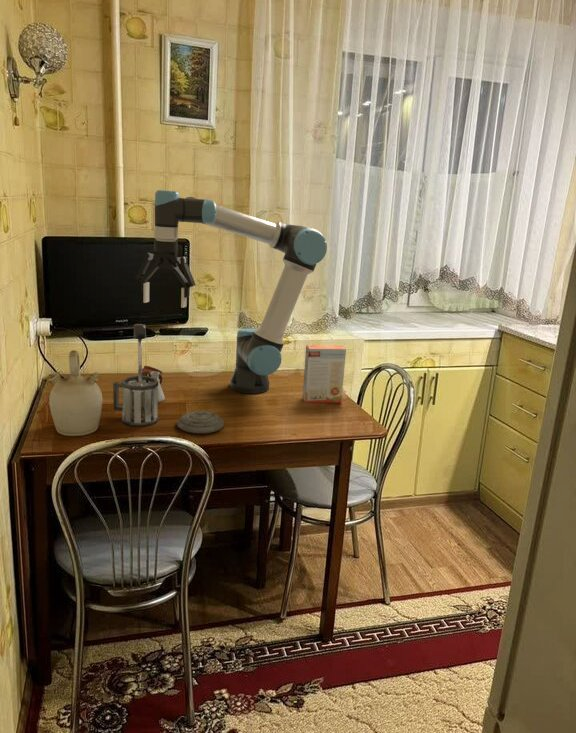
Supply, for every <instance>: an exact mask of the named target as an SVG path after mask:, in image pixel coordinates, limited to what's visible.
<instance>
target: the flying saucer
mask: <svg viewBox="0 0 576 733" xmlns="http://www.w3.org/2000/svg"><path fill="white" fill-rule="evenodd" d="M224 425H225V423H224V421H223V419H222V417H220V416H219V415H217V414H216V413H214V412H211V411H208V410H207V411H206V410H194V411H190V412H187V413H185V414H183V415H182V416H181V417H180V418H179V419H177V421H176V426H177V427H178V428H179V429H180V430H182V431H185V432H187V433H190V434H210V433H214V432H218V431H219V430H221V429H223V427H224Z"/></svg>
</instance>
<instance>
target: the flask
mask: <svg viewBox="0 0 576 733" xmlns="http://www.w3.org/2000/svg"><path fill="white" fill-rule="evenodd" d="M150 375H151V377H153V378H156V379H157V381H158V403H161V402H163V401H165V400H166V396H165V394H164V392H163V389H162V385H161V383H160V379H159V372H151V373H150Z"/></svg>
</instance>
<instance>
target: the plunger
mask: <svg viewBox="0 0 576 733" xmlns="http://www.w3.org/2000/svg"><path fill="white" fill-rule="evenodd" d="M146 329H147V325H146V324H143V323H135V324H133V338H134V339H136V340H137V376H138V382H137V383H131V384H129V383H128V384H129V385H132V386H146V385H151V384H150V383H144V382H142V369H143V340H144V339H147V335H146V334H147V330H146ZM151 391H152V389H151ZM132 393H134V390H132ZM141 393H144V391H141Z"/></svg>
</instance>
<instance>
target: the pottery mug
mask: <svg viewBox="0 0 576 733" xmlns="http://www.w3.org/2000/svg"><path fill="white" fill-rule="evenodd" d="M151 372H159V383H160V384H161V383H163V375H162V374H163V370H160V369H158V368H155V367H153V366H150V365H144V366H143V367H142V376H149V377H151V375H150V373H151ZM137 382H138V380H136V383H137ZM146 383H148V381H147V380H146Z"/></svg>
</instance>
